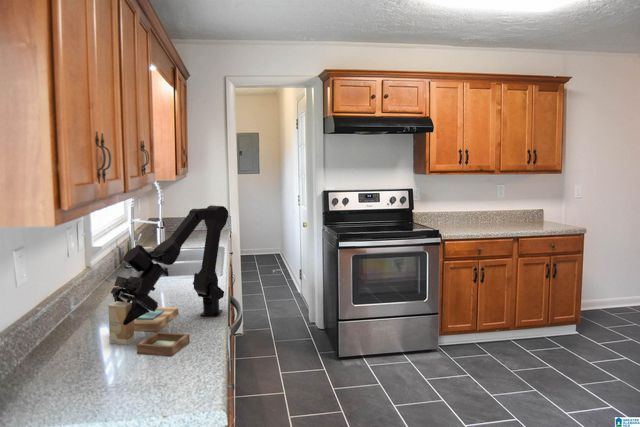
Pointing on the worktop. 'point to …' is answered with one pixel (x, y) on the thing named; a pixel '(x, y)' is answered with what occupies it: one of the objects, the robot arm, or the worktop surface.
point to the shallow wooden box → (155, 319)
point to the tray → (163, 343)
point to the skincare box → (120, 323)
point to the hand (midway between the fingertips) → (117, 322)
